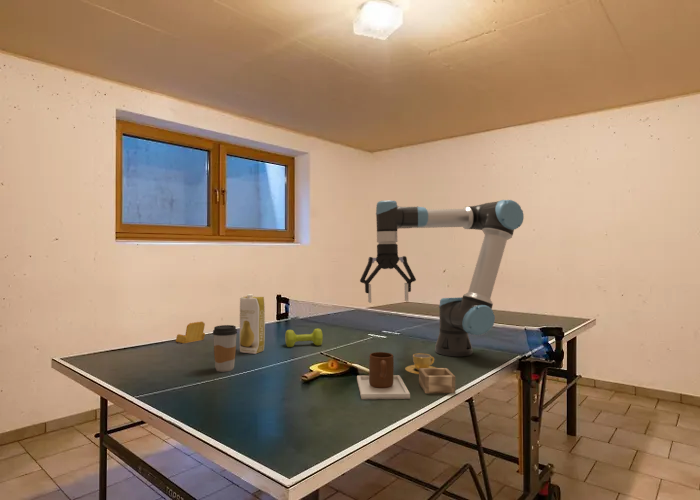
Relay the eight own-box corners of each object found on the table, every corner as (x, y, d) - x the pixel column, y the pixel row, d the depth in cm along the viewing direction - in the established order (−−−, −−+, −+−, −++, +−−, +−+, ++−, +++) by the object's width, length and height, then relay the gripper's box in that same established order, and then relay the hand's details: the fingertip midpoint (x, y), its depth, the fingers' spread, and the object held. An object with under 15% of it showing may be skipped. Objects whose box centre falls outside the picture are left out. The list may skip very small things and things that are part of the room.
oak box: (446, 383, 137) (446, 368, 137) (455, 393, 128) (455, 376, 128) (418, 383, 136) (419, 368, 136) (425, 393, 127) (425, 376, 127)
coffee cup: (241, 367, 154) (241, 325, 154) (227, 373, 146) (228, 329, 146) (221, 365, 157) (222, 324, 157) (207, 371, 149) (207, 328, 149)
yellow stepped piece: (195, 338, 205) (195, 318, 205) (206, 340, 199) (206, 320, 199) (174, 341, 197) (174, 321, 197) (186, 344, 191) (186, 323, 191)
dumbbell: (320, 343, 196) (320, 327, 196) (323, 346, 188) (324, 330, 188) (284, 344, 192) (284, 328, 192) (286, 348, 184) (286, 332, 184)
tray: (399, 379, 140) (399, 375, 140) (410, 398, 122) (410, 393, 122) (357, 380, 140) (357, 375, 140) (361, 399, 122) (361, 394, 122)
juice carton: (236, 352, 176) (237, 294, 176) (248, 348, 183) (248, 292, 183) (256, 355, 172) (256, 295, 172) (266, 350, 179) (267, 293, 180)
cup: (417, 377, 145) (417, 361, 145) (398, 368, 156) (399, 353, 156) (446, 373, 149) (446, 357, 149) (426, 364, 160) (426, 350, 160)
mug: (396, 393, 125) (397, 361, 125) (370, 393, 125) (371, 361, 125) (391, 381, 137) (392, 351, 137) (368, 381, 137) (368, 351, 137)
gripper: (418, 242, 161) (419, 299, 161) (352, 244, 158) (353, 301, 158) (423, 242, 153) (424, 301, 153) (354, 243, 151) (355, 304, 151)
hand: (388, 301), depth 156 cm, fingers open, 13 cm apart
